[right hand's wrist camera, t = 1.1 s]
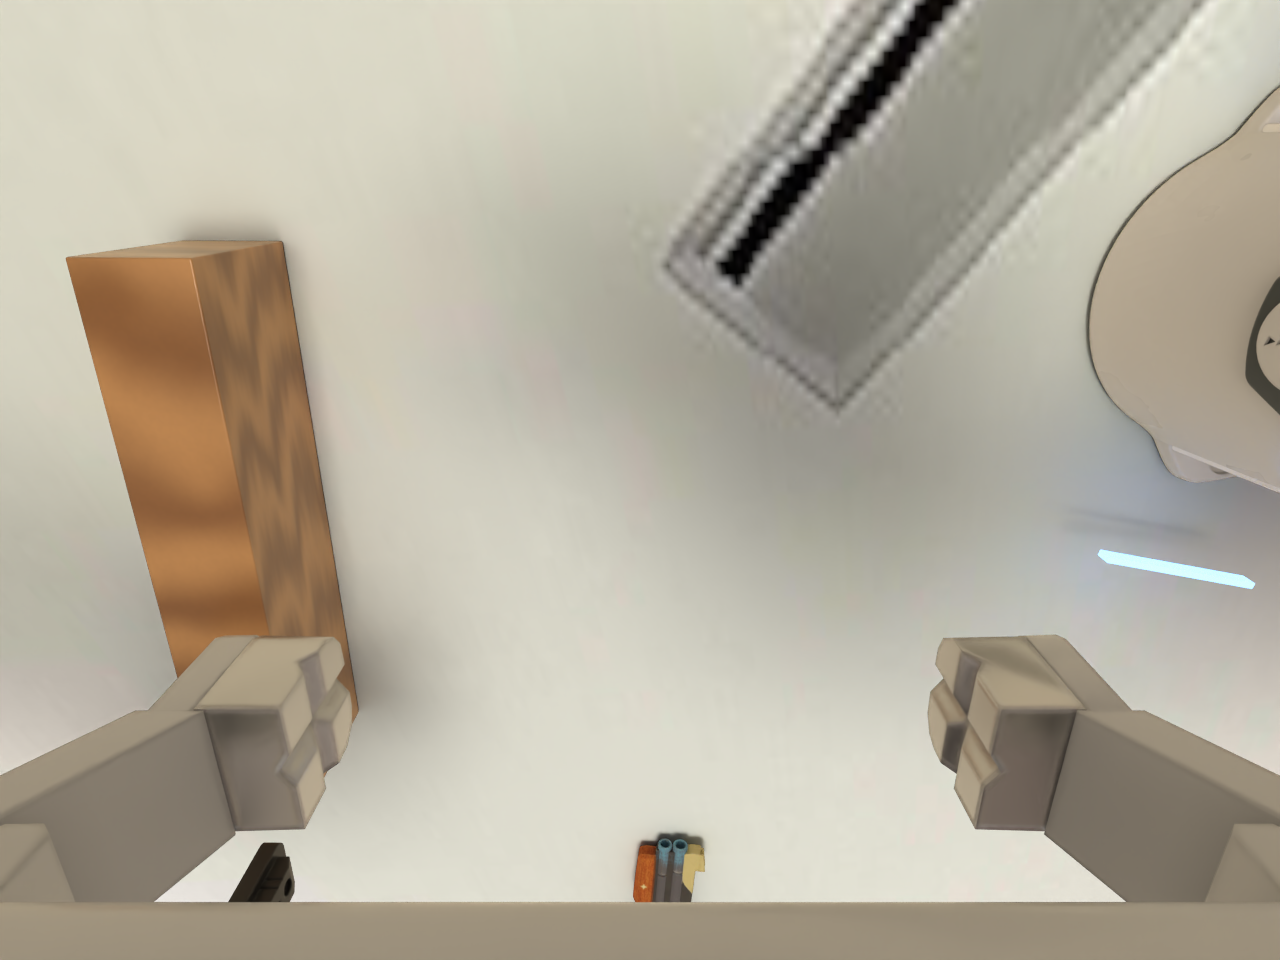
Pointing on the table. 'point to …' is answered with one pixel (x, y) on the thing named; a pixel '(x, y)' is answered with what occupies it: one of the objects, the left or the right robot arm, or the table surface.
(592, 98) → the table surface
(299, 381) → the bar
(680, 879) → the toy gun
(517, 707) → the table surface
